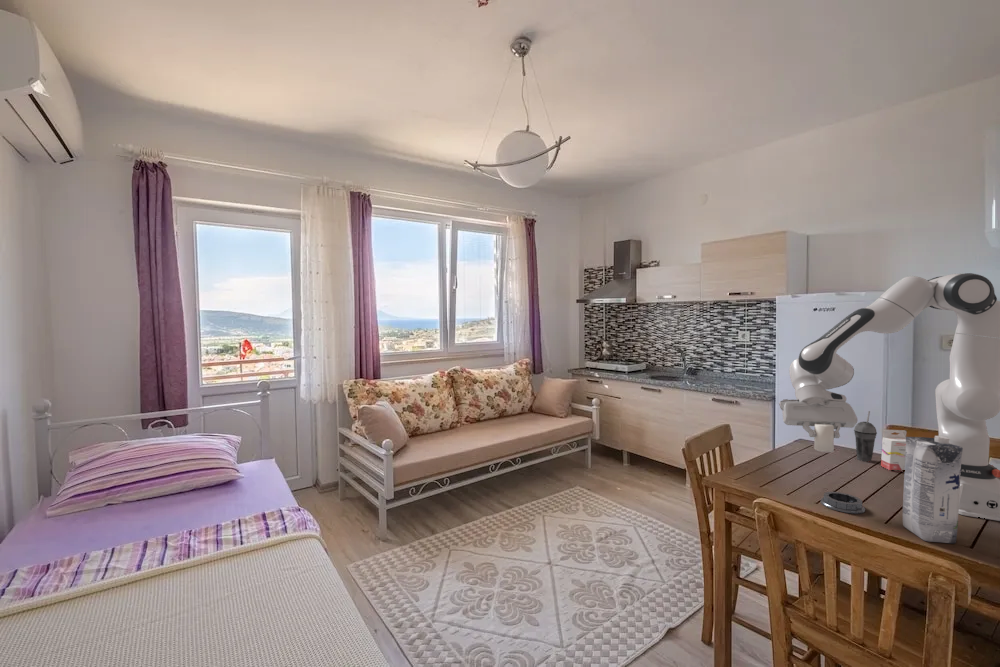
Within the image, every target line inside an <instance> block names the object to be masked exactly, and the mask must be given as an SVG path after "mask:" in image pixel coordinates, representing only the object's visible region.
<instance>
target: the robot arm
mask: <svg viewBox="0 0 1000 667" xmlns="http://www.w3.org/2000/svg"><path fill="white" fill-rule="evenodd" d="M995 293H996V292H995V288H994V285H993V283H992V282H991V280H990V279H989V278H987V277H985V276H984V275H981V274H977V273H971V272H970V273H966V272H965V273H951V274H947V275H942V276H936V277H933V278H930V279H925V278H923V277H920V276H916V275H909V276H908V275H907V276H905V277H902V278H901V279H900V280H898V281H897V282H895V283H894V284H892V285H891V286H890V287H889V288H888V289H887V290H885V291H884V292H883V293H882V294H880V296H879V297H878V298H877V299H876V300H875V301H873V302H871V304H870V305H868V306H866V307H864V308H863V307H862V308H858V309H856V310H854V311H853V312H851V313H850V314H848V315H846V316H845V317H844V318H843V319H841V321H839V322H838V323H837V324H835V325H834V326H833V327H832V328H831V329H829V330H827V332H825V333H824V334H822V336H820V337H819V338H817V339H816V340H814V341H812V342H811V343H809V344H807V345H806V346H804V347H803V348H802V349H801V351H800V352H799V355H798V358H795V359H794V360H793V361H792V362H791V363H790V365H789V369H788V371H789V372H788V373H789V378H790V381H791V382H790V383H791V385H792V387H793V389H794V395H795V398H796V399H788V398H787V399H783V400H780V401H779V403H778V404H779V409H780V410H781V411H782V420H783V423H784V424H785V425H786V426H794V427H795V426H797V427H799V426H801V427H802V428H803V429H804V431H805V432H806V433H808V436H809V437H810V438H814V437H816V435H817V434H816V431H815V429H812V427H815V424H816V423H825V424H831V425H833V426H834V439H840V437H841V434H840V430H841V428H844V429H845V428H849V429H850V428H851V429H852V428H855V426H856V425H857V424H858V417H857V414H856V412H855V411H854V408H853V407H852V405H851V404H849V403H848V402H847V397H846V395H844V394H841V393H837V392H833V391H829V390H832V389H835V388H840V387H843V386H845V385H846V384H847V385H848V383H850V382H851V381H852V379H853V378H854V374H855V370H854V369H855V368H854V366H853V365H852V364H851V363H850V362H848V361H847V360H846V359H844V358H843V356H840V355H839V354H838V350H839V349H840V348H841V347H843V346H844V345H846V344H847V343H848V342H849V341H851V339H853V338H855V336H857V335H858V334H860V333H864V332H874V333H879V334H884V335H885V334H886V335H887V334H894V333H895V334H896V333H898V332H900V331H902V330H903V329H904V328H906V327H908V326H909V324H910V323H911V322H913V320H915V319H916V318H917V317H918V316H919V315H920V313H921V312H922V311H924V310H925V309H927V308H932V309H936V310H943V311H944V310H945V311H954V313H955V315H956V317H957V324H956V328H955V333H954V336H953V340H952V345H951V349H950V353H949V358H948V359H949V378H947V379H945V380H943V381H941V382H939V383H938V384H937V385H936V388H935V390H934V394H935V406H936V410H935V411H936V417H937V427H938V436H942V437H947V438H949V439H950V440H949V444H953V445H957V446H960V447H962V448H963V450H962V457H961V475H960V493H959V512H958V515H962V516H966V517H972V518H978V517H980V518H981V519H984V518H985V519H986V520H992V521H997V522H1000V479H999V478H1000V469H998V468H997V467H995V466H994V465H993V464H992V465H991V464H990V463H989V459H990V458H989V456H990V440H991V439H990V435H989V433H988V428H987V422H986V420H990V419H993V418H994V417H996V416H997V415H998V414H999V413H1000V301H999V300H998V299H997V295H996V294H995ZM980 518H979V519H980Z"/></svg>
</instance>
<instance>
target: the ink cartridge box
mask: <svg viewBox="0 0 1000 667" xmlns="http://www.w3.org/2000/svg"><path fill="white" fill-rule="evenodd" d="M894 433H896V434H894ZM906 437H907V430H902V429H901V430H900V429H884V430H883V435H882V438H881V439H882V443H881V459H880V467H881V466H882V467H881V468H883V467H884V468H883V469H885V468H886V469H885V470H887V469H888V470H887V471H889V470H905V453H906Z"/></svg>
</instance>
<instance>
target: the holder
mask: <svg viewBox="0 0 1000 667" xmlns="http://www.w3.org/2000/svg"><path fill="white" fill-rule="evenodd" d="M820 504H821V505H822V506H824V507H825V508H828V509H830V510H833V511H835V510H836V512H839V511H840V512H839V513H843V512H844V513H845V514H849V515H861V514H863V513H866V508H865V506H864V505H863V500H862V499H861V498H859V497H858V496H855V495H852V494H850V493H845V492H839V491H827V492H824V493H823V497H822V498H820Z"/></svg>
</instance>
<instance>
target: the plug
mask: <svg viewBox="0 0 1000 667" xmlns="http://www.w3.org/2000/svg"><path fill="white" fill-rule="evenodd" d="M814 430H815V431H816V434H817V435H816V437H813V438H814V442H813V443H814V444H813V445H814V450H815V451H818V452H821V453H834V450H835V449H834V447H835V445H834V443H835V441H834V440H835V438H834V431H835V429H834V426H833V425H831V424H825V423H816V424H815V426H814Z"/></svg>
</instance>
